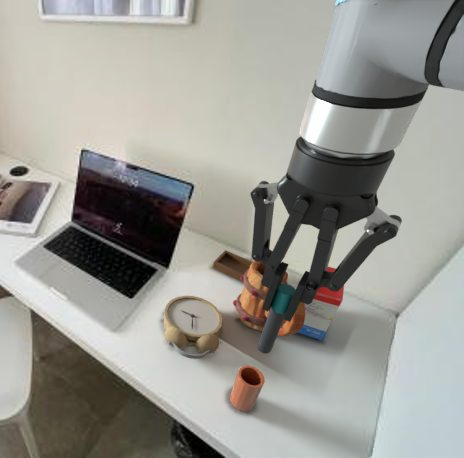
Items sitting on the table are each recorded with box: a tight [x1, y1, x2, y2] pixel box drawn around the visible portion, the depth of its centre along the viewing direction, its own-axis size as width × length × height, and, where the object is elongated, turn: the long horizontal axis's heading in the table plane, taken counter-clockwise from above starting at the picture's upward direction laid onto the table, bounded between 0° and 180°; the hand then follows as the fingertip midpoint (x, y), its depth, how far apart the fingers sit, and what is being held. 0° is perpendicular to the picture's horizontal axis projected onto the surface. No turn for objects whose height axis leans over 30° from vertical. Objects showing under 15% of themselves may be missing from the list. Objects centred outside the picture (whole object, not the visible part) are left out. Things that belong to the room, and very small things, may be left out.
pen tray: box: [212, 249, 253, 283], centre depth 84 cm, size 14×6×2 cm, turn 44°
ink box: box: [297, 266, 345, 341], centre depth 69 cm, size 8×5×15 cm, turn 147°
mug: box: [232, 260, 305, 337], centre depth 68 cm, size 15×8×15 cm, turn 6°
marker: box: [256, 283, 296, 354], centre depth 48 cm, size 2×2×13 cm
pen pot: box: [229, 365, 266, 413], centre depth 60 cm, size 4×4×8 cm
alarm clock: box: [163, 295, 223, 360], centre depth 73 cm, size 11×5×15 cm
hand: (279, 308), depth 47 cm, fingers closed on marker, 2 cm apart
